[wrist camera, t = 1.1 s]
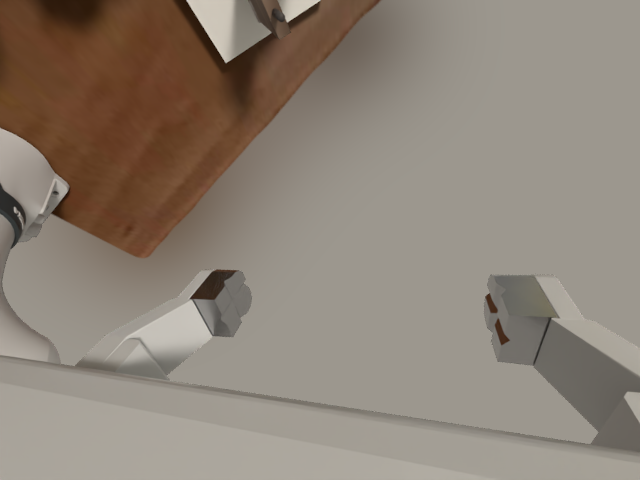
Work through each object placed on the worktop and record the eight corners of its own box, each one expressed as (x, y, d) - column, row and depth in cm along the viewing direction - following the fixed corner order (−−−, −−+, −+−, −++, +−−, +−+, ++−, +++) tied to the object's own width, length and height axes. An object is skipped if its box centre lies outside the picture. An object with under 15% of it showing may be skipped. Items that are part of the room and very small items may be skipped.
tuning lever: (256, 20, 41) (284, 47, 33) (235, -24, 37) (261, -6, 29) (268, 13, 41) (299, 37, 33) (248, -33, 37) (278, -17, 29)
